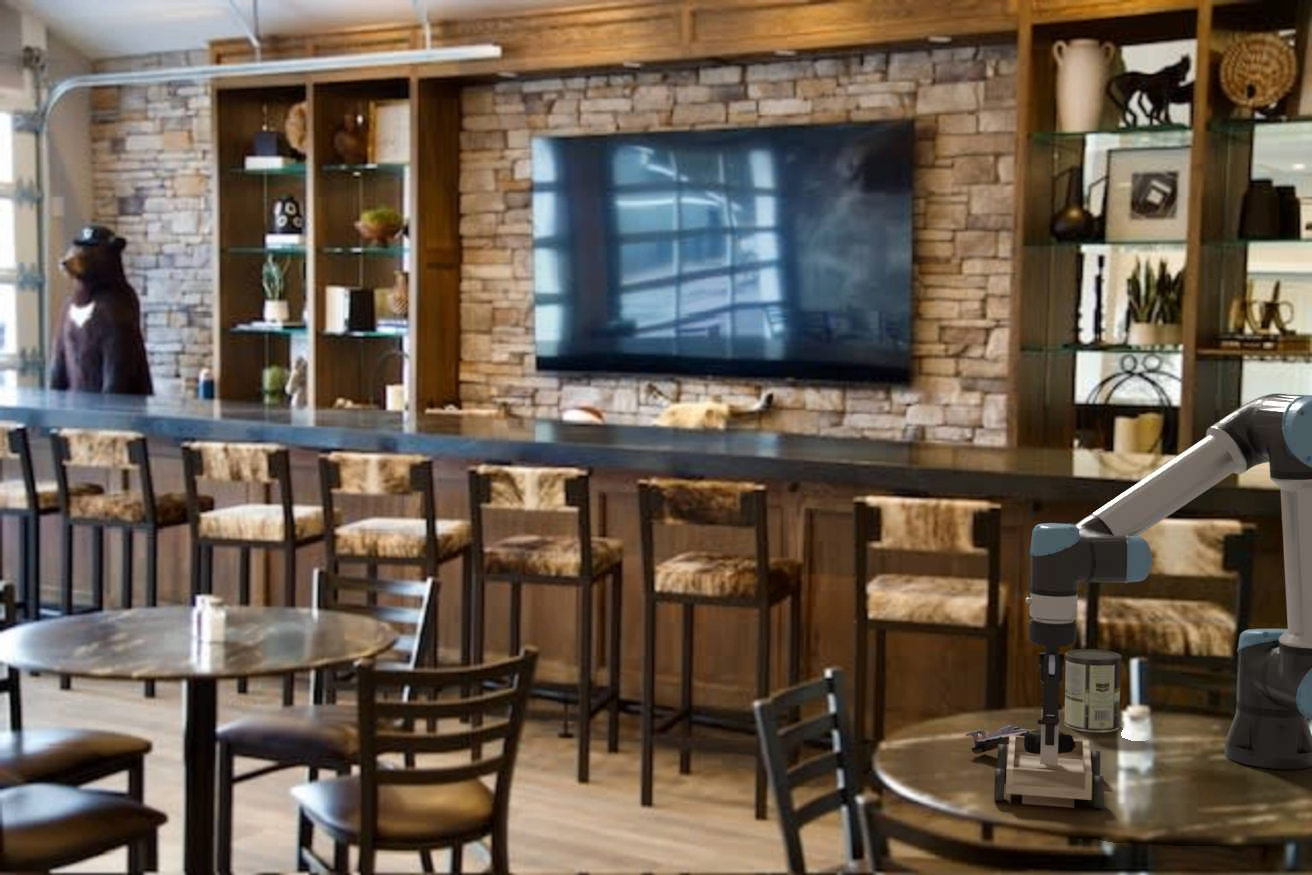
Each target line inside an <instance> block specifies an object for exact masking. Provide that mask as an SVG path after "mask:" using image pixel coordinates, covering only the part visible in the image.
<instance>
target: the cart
mask: <svg viewBox="0 0 1312 875" xmlns="http://www.w3.org/2000/svg"><path fill="white" fill-rule="evenodd" d="M1073 740H1074V742H1076V744H1075V748H1073V751H1072V752H1069V753H1060V754H1058V765H1046V764H1040V754H1034V753H1029V752H1027V751H1026V750H1025V748H1024V736H1016V735H1010V737H1009V744H1008V745H1006V744H998V748H997V761H996V762H997V763H996V764H997V766H996V768H995V769H994V795H993V796H994V798H993V799H994V801H998V802H1004V797H1005V795H1006V794H1007V795H1021V797H1022V799H1021V805H1022V804H1023V805H1035V806H1048V807H1059V808H1060V807H1061V808H1073V809H1074V808H1075V800H1085V801H1086V800H1087V801H1092V808H1093V809H1100V810H1101V809H1104V794H1105V793H1104V786H1105V785H1104V782H1105V781H1104V775H1101V751H1100V750H1093V749H1090V742H1089V740H1088V739H1087V740H1086V739H1074V738H1073ZM1005 776H1006V778H1005ZM1005 779H1006V780H1005Z"/></svg>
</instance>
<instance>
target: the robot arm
mask: <svg viewBox="0 0 1312 875" xmlns="http://www.w3.org/2000/svg"><path fill="white" fill-rule="evenodd" d="M1265 463H1269V464H1268V465H1269V477H1270V478H1269V479H1270V480H1271V481H1272V482H1274V484H1276V485H1277V486H1278V487H1279V489H1280V504H1281V522H1282V524H1281V525H1282V541H1283V561H1284V562H1283V563H1284V577H1285V578H1284V581H1285V597H1286V598H1285V601H1286V616H1287V618H1286V620H1287V628H1253V629H1246V630H1244V631H1242V632H1241V633H1240V635H1239V639H1238V644H1237V645H1238V646H1237V647H1238V648H1237V649H1236V650H1237V651H1236V652H1237V677H1236V678H1237V679H1236V680H1237V681H1236V682H1237V683H1236V708H1235V709H1236V710H1235V715H1234V717H1233V720H1232V723H1231V725H1230V728H1229V730H1228V732H1227V735H1226V737H1225V742H1224V751H1223V752H1224V756H1225V757H1226V758H1227V759H1228V760H1231V761H1233V762H1236V763H1240V764H1243V765H1247V766H1251V767H1257V768H1263V769H1272V770H1273V769H1274V770H1275V769H1276V770H1301V769H1307V768H1311V767H1312V731H1311V729H1310V725H1309V722H1308V719H1309V720H1311V721H1312V394H1309V395H1307V394H1287V393H1270V394H1267V395H1265V394H1264V395H1262V396H1260V397H1257V398H1255V399H1253V400H1251V401H1249V402H1247V403H1245V404H1244V405H1242V406H1240V407H1238V408H1237V409H1235V410H1234V411H1232V412H1231V413H1229V414H1228V415H1227V416H1225V417H1223V418H1222V419H1220V420H1219V421H1217V422H1215V423H1214V424H1213V425H1211V426H1210V427H1209V428H1207V429H1206V435H1205V437H1204V438H1203V439H1201V440H1199V441H1198V442H1197V443H1195V444H1193V445H1192V446H1191V447H1189V448H1187V449H1186V450H1184V451H1183V452H1182V453H1180V454H1179V455H1177V456H1175V457H1174V458H1173V459H1171V460H1170V461H1168V462H1166V463H1165V464H1164V465H1163V466H1161V467H1160V468H1158V469H1156V470H1155V471H1153V472H1152V473H1151V474H1149V475H1148V476H1146V477H1144V478H1143V479H1141V480H1140V481H1138V482H1137V483H1136V484H1134V485H1133V486H1131V487H1129V488H1128V489H1127V490H1125V491H1124V492H1122V493H1120V494H1119V495H1118V496H1116V497H1115V498H1113V499H1112V500H1110V501H1109V502H1107V503H1106V504H1104V505H1103V506H1101V507H1100V508H1098V509H1097V510H1096V511H1094V512H1093V513H1091V514H1089V515H1088V516H1086V517H1084V518H1083V519H1081V520H1080V521H1079V522H1077V523H1061V522H1060V523H1058V522H1057V523H1056V522H1049V523H1048V522H1046V523H1039V524H1036V525H1035V526H1034V528H1033V529H1032V532H1031V533H1032V534H1031V538H1030V540H1031V541H1030V550H1029V555H1030V585H1029V586H1030V587H1029V592H1030V593H1029V595H1030V597H1026V598H1025V603H1026V604H1028V605H1029V604H1030V605H1029V616H1030V617H1031V619H1030V620H1029V621H1028V641H1029V642H1030V643H1032V644H1033V645H1037V646H1043V648H1042V652H1039V653H1038V654H1039V656H1038V658H1039V659H1038V661H1039V662H1038V665H1039V668H1040V669H1039V670H1040V671H1039V672H1040V673H1039V677H1040V679H1039V680H1040V682H1041V684H1042V696H1041V701H1042V703H1041V708H1042V709H1041V712H1040V713H1041V714H1040V715H1041V718H1040V719H1037V725H1041V726H1040V729H1041V751H1040V764H1046V765H1058V732H1059V731H1060V730H1059V729H1060V728H1059V727H1060V726H1059V725H1060V718H1059V710H1060V711H1062V710H1063V704H1062V703H1060V700H1059V699H1060V685H1061V684H1062V683H1063V669H1064V667H1065V653H1060V651H1061V649H1060V648H1061V647H1065V648H1066V647H1072V646H1074V645H1075V644H1076V642H1077V623H1076V621H1074V620H1076V619H1077V618H1078V603H1079V602H1078V600H1079V599H1078V598H1079V597H1078V596H1079V594H1078V593H1079V592H1078V591H1079V590H1078V589H1079V583H1083V584H1084V583H1085V584H1086V583H1124V584H1128V583H1136V582H1142V581H1144V580H1145V579H1147V578H1148V576H1149V575H1150V572H1151V571H1152V570H1151V569H1152V562H1153V561H1152V558H1153V557H1152V556H1153V555H1152V551H1151V548H1150V545H1149V543H1148V542H1147V540H1146V539H1145V538H1144V537H1142V536H1141V535H1142V534H1143V533H1145V532H1146V531H1148V530H1150V529H1151V528H1153V527H1154V526H1156V524H1159V523H1160V522H1161V521H1163V520H1164V519H1166V518H1168V517H1169V516H1171V515H1172V514H1173V513H1175V512H1177V511H1178V510H1180V509H1181V508H1182V507H1184V506H1186V505H1187V504H1188V503H1190V502H1192V501H1193V500H1194V499H1195V498H1197V497H1199V496H1200V495H1202V494H1203V493H1205V492H1207V490H1209V489H1212V488H1213V487H1214V486H1215V485H1216V484H1218V483H1220V482H1221V481H1223V480H1224V479H1226V478H1227V477H1229V476H1230V475H1232V474H1237V475H1242V474H1244V473H1246V472H1248V470H1250V469H1251V468H1253V467H1255V466H1259V465H1261V464H1265Z"/></svg>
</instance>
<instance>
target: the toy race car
mask: <svg viewBox="0 0 1312 875" xmlns="http://www.w3.org/2000/svg"><path fill="white" fill-rule="evenodd" d="M1039 729H1040V728H1039ZM1039 729H1038V728H1037V729H1035V728H1034V729H1032V728H1031V729H1028V728H1027V729H1026V728H1020V727H1019V726H1015V727H1014V726H1013V724H1009V725H1006V726H1004V727H1002V728H1000V729H997V731H995V732H993V733H992V734H990V735H988V734H987V732H986V731H985V730H984V729H979V730H974V731H971V732H968V733H966V734H965V736H971V737H972V738H973V741H974V747H971V748H970V750H971V751H972V753H973V754H976V755H977V754H978V755H980V754H983V753H986V752H989V751H990V752H991V751H994V750H998V744H1006V745H1007V746H1009V737H1010V735H1016V736H1025V733H1026V732H1027V731H1030V730H1039ZM979 735H981V736H982V739H979Z"/></svg>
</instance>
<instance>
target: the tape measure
mask: <svg viewBox="0 0 1312 875" xmlns="http://www.w3.org/2000/svg"><path fill="white" fill-rule="evenodd" d="M1029 730H1030V731H1027V732H1026V733H1025V736H1024V748H1025V750H1026V751H1027V752H1029V753H1034V754H1040V751H1041V728H1039V730H1032V729H1029ZM1073 739H1074V737H1073V735H1071V734H1067V733H1063V732H1061V731H1060V730H1059V732H1058V754H1060V753H1069V752H1072V751H1073V748H1075V744H1076V742H1074V740H1073Z"/></svg>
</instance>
